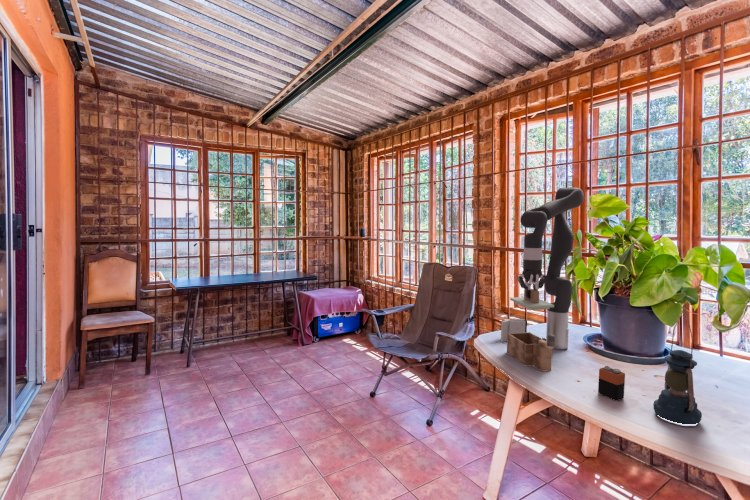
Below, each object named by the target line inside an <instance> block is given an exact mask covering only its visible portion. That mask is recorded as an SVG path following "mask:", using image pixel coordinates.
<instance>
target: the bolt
mask: <svg viewBox="0 0 750 500" xmlns="http://www.w3.org/2000/svg"><path fill="white" fill-rule="evenodd" d="M538 343H540V344H541V345H543V346H545V347H547V348H548V349H552V350H553V349H555V348H554V346H555V335H551V334H548V335H547V342H546V341H544V340H538Z"/></svg>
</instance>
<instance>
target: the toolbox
mask: <svg viewBox="0 0 750 500" xmlns="http://www.w3.org/2000/svg"><path fill="white" fill-rule="evenodd" d="M538 340H544V341H546V338H545V337H542V338H541V337H539V336H538V335H535V334H533V333H532V332H530V331H529V332H526V333H507V341H506V354H508V355H509V356H511V357H512V358H514V359H515V360H516V361H518V362H519V363H520V364H522V365H523V366H524V367H532V366H533V367H534V368H536V369H537V370H538V371H540V372H549V371H552V354H553V353H552V352H553V349H548V348H547V347H545V346H543V345H541V344H540V343H538ZM546 342H547V341H546Z"/></svg>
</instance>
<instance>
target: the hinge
mask: <svg viewBox="0 0 750 500" xmlns="http://www.w3.org/2000/svg"><path fill="white" fill-rule="evenodd" d="M500 324H501V327H500V328H501V330H500V342H502V343H503V342H507V333H526V332H527V327H528V320H527V319H524V318H505V319H503V321H501V322H500Z"/></svg>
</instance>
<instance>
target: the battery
mask: <svg viewBox="0 0 750 500" xmlns="http://www.w3.org/2000/svg"><path fill="white" fill-rule="evenodd" d="M625 383H626V373H625V372H623V371H621V369H619V368H612V367H610V366H608V365H605V366H604V367H602V368H601V367H600V368H599V369H598V385H597V386H598V388H597V394H599V395H601V394H602V395H601V396H604V397H606V396H607V397H606V398H608V397H609V399H611V398H612V399H611V400H613V399H614V400H613V401H615V400H617V401H619V399H620V400H623V399H624V397H625ZM622 398H623V399H622Z"/></svg>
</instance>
